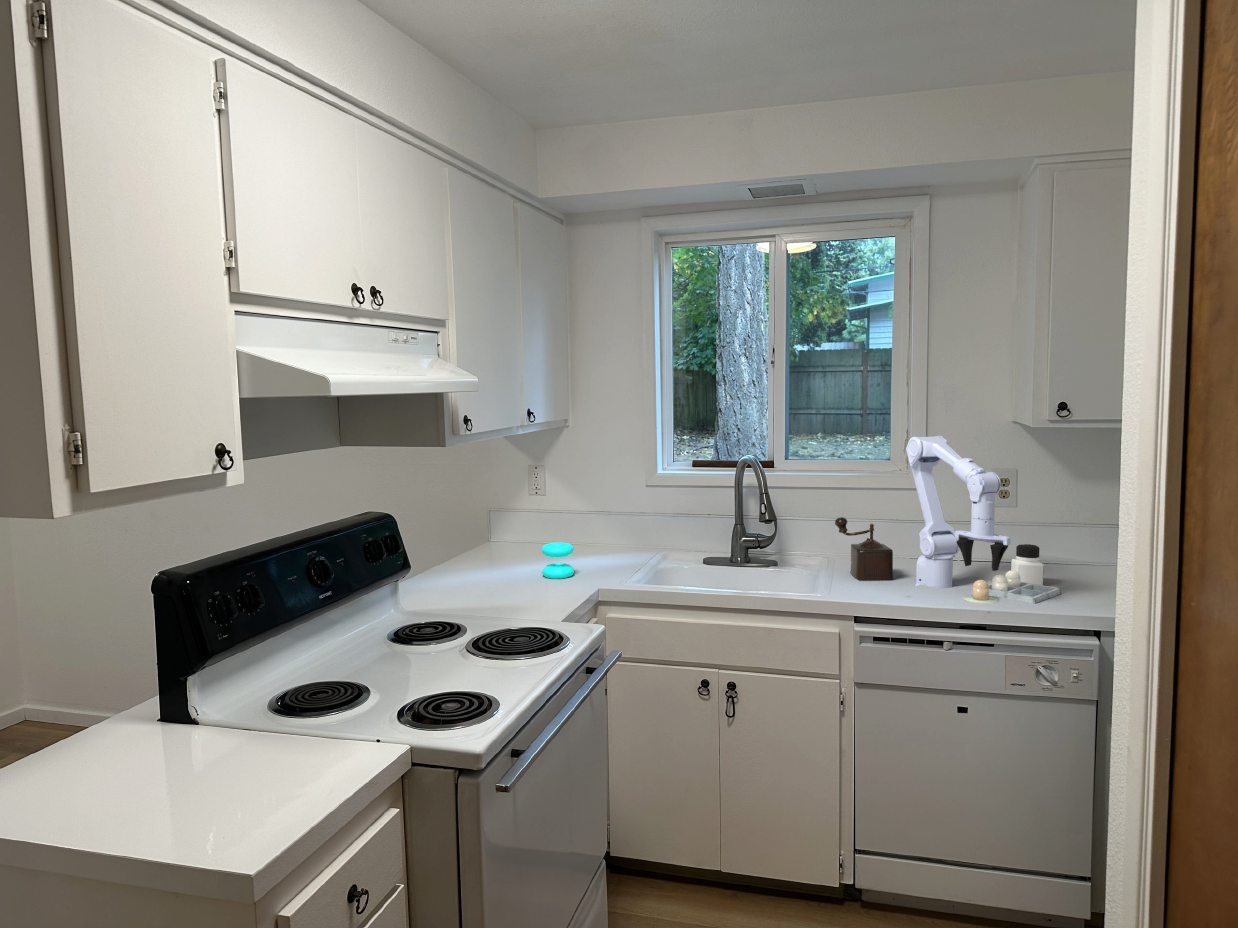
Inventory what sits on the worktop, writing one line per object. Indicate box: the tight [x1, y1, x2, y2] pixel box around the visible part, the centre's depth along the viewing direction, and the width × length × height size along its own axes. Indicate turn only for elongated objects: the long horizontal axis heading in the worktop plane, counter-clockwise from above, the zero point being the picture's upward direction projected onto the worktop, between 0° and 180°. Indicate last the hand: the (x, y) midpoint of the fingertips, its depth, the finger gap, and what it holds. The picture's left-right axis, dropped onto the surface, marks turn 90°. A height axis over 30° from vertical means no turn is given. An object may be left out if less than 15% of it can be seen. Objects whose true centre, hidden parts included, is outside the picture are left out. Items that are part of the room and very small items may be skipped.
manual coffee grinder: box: [834, 516, 894, 582], centre depth 264 cm, size 16×11×18 cm
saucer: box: [962, 594, 1000, 604], centre depth 234 cm, size 9×9×1 cm
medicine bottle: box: [1010, 543, 1045, 585], centre depth 250 cm, size 7×7×12 cm
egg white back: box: [1004, 570, 1021, 588], centre depth 244 cm, size 4×4×5 cm
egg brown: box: [972, 579, 990, 601], centre depth 234 cm, size 4×4×5 cm
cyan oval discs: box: [541, 542, 575, 580], centre depth 273 cm, size 10×10×10 cm
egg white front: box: [991, 573, 1008, 592], centre depth 240 cm, size 4×4×5 cm
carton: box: [988, 582, 1062, 604], centre depth 239 cm, size 16×16×2 cm
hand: (981, 567), depth 233 cm, fingers open, 7 cm apart
